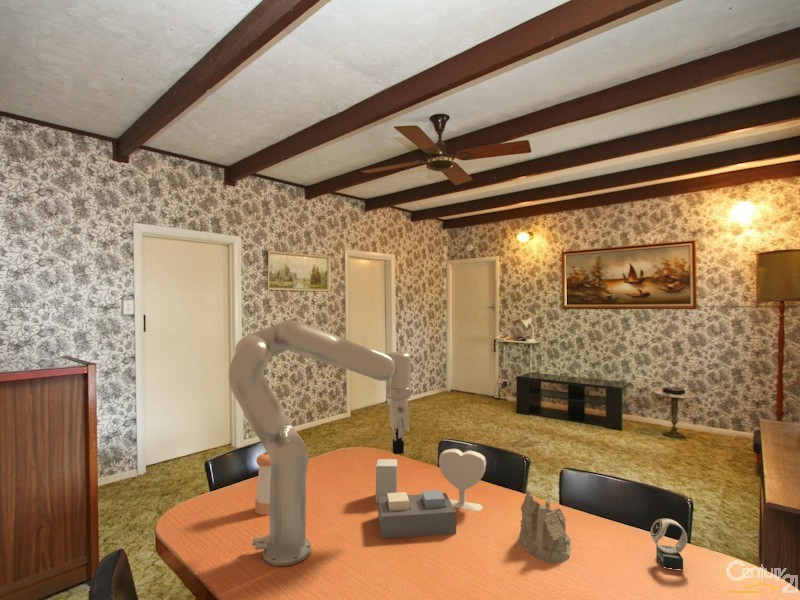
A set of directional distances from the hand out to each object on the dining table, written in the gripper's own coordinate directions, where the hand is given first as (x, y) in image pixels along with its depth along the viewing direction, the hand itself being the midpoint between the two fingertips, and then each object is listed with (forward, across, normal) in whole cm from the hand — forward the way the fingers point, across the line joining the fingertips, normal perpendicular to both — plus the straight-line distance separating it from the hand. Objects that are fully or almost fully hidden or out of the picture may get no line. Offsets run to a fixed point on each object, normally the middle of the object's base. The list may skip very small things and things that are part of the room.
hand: (398, 452), depth 127 cm
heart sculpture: (+22, +11, -24) cm, 34 cm away
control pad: (+22, 0, -6) cm, 23 cm away
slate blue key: (+18, 0, -11) cm, 21 cm away
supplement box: (+22, +19, +2) cm, 29 cm away
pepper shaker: (+22, +16, +42) cm, 50 cm away
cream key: (+18, 0, 0) cm, 18 cm away
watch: (+22, -28, -68) cm, 76 cm away
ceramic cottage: (+22, -15, -41) cm, 49 cm away
